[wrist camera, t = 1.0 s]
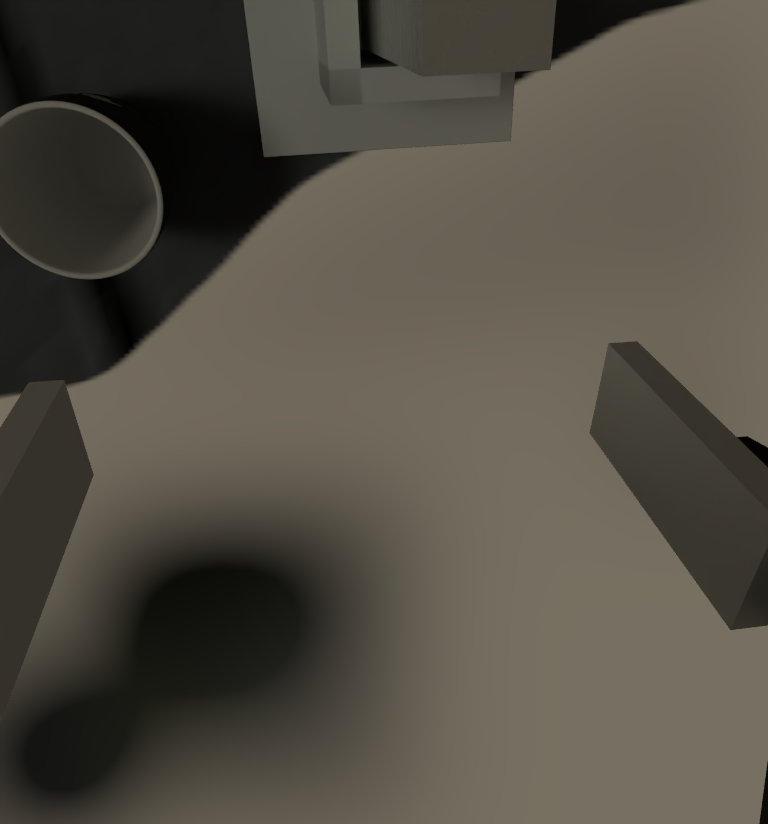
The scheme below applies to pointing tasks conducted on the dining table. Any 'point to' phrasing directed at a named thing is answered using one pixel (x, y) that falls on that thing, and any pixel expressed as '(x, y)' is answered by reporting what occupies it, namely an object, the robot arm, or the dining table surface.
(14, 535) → the robot arm
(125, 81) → the dining table surface
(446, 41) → the column
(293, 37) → the stand base
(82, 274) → the mug
